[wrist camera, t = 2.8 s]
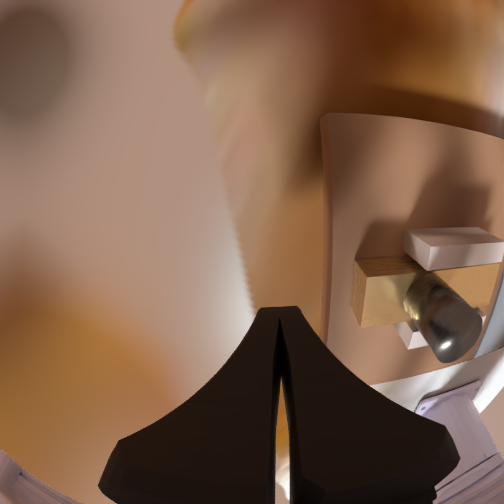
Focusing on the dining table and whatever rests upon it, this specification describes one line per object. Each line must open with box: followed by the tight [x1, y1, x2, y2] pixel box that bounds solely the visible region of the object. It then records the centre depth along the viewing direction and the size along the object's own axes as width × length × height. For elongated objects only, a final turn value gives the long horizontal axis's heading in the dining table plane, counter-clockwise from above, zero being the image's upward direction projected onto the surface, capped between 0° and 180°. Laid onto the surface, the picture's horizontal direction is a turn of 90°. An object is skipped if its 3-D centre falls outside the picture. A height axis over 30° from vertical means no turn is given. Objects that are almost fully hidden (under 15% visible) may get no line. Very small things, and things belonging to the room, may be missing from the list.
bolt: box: [350, 256, 500, 363], centre depth 9 cm, size 8×2×5 cm, turn 95°
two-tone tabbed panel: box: [320, 112, 504, 385], centre depth 11 cm, size 20×15×4 cm
